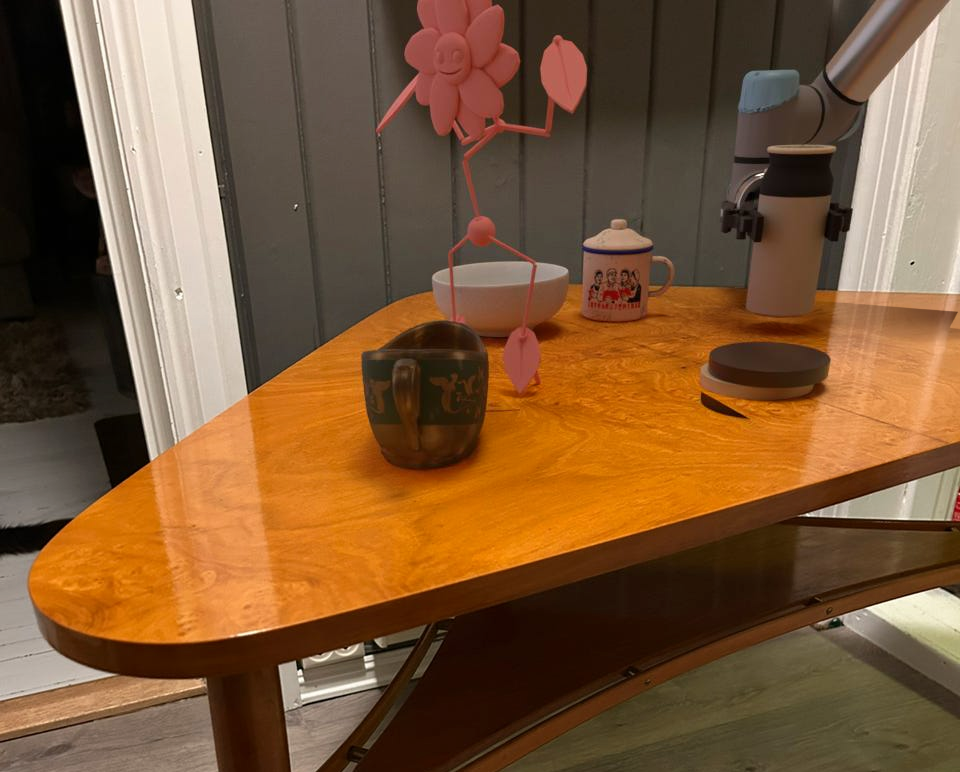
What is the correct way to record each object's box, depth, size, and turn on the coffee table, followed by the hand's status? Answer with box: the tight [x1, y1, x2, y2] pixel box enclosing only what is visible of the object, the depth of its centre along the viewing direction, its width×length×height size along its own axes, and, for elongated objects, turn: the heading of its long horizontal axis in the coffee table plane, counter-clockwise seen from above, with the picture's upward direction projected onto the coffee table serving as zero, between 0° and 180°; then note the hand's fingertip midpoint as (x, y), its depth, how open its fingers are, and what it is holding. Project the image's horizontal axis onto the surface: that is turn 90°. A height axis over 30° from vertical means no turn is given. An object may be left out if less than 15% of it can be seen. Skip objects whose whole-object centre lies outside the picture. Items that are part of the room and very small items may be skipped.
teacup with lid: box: [581, 218, 675, 323], centre depth 121 cm, size 12×9×12 cm
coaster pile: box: [698, 341, 832, 420], centre depth 89 cm, size 12×11×4 cm
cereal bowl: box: [431, 261, 570, 338], centre depth 117 cm, size 17×17×7 cm
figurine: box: [375, 0, 588, 413], centre depth 87 cm, size 15×26×35 cm, turn 48°
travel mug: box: [745, 144, 837, 319], centre depth 110 cm, size 8×8×18 cm
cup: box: [360, 319, 490, 471], centre depth 79 cm, size 13×20×10 cm, turn 147°
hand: (797, 229), depth 106 cm, fingers closed on travel mug, 8 cm apart
